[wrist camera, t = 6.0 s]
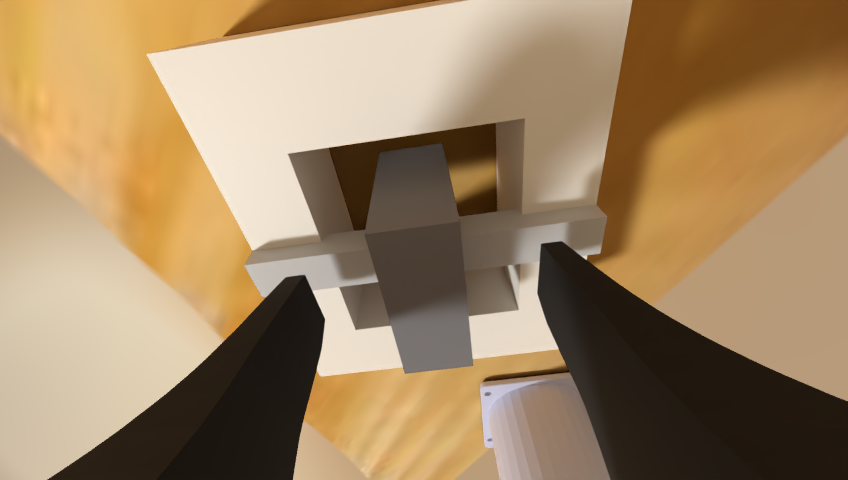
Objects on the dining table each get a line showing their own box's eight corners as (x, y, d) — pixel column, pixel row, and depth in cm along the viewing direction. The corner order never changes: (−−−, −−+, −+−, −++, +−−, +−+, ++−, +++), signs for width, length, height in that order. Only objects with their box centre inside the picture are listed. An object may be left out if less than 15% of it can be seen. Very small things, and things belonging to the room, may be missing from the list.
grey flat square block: (455, 264, 16) (473, 365, 12) (406, 271, 17) (404, 373, 12) (442, 143, 13) (460, 221, 8) (379, 152, 13) (364, 234, 9)
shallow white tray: (542, 285, 20) (578, 362, 15) (335, 311, 20) (317, 392, 16) (568, -22, 11) (657, -31, 7) (221, 37, 12) (125, 59, 8)
